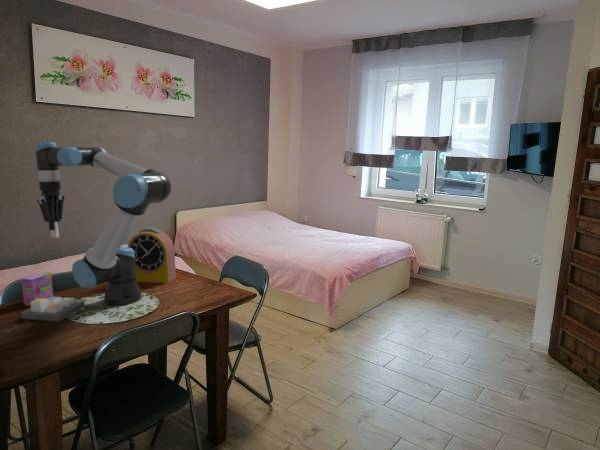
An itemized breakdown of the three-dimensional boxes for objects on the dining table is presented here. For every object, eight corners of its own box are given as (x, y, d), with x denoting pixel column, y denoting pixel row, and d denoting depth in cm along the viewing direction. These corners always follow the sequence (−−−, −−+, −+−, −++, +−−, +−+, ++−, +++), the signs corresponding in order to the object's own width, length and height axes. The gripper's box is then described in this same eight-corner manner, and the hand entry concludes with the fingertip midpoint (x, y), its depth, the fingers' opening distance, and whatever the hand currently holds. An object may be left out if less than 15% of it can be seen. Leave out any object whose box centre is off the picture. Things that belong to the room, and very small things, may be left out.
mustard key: (49, 308, 171) (48, 298, 170) (41, 312, 166) (40, 302, 166) (40, 307, 171) (38, 297, 171) (31, 311, 167) (30, 301, 166)
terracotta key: (63, 313, 170) (62, 303, 169) (55, 318, 166) (54, 307, 165) (53, 313, 171) (52, 302, 170) (45, 317, 166) (44, 306, 166)
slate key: (62, 306, 178) (61, 296, 177) (55, 310, 173) (53, 300, 173) (53, 305, 178) (52, 296, 178) (45, 309, 174) (44, 299, 173)
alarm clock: (128, 281, 214) (124, 229, 209) (138, 275, 222) (134, 225, 218) (168, 283, 210) (165, 230, 206) (176, 277, 219) (173, 227, 214)
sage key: (75, 307, 177) (74, 297, 176) (68, 311, 172) (67, 301, 172) (66, 306, 177) (65, 296, 177) (58, 310, 173) (57, 300, 172)
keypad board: (84, 307, 178) (84, 301, 178) (58, 321, 163) (58, 315, 163) (50, 305, 181) (50, 299, 180) (22, 318, 166) (21, 312, 166)
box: (35, 306, 179) (32, 279, 177) (23, 305, 181) (20, 278, 178) (54, 298, 189) (51, 272, 187) (43, 297, 191) (40, 271, 189)
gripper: (52, 179, 182) (58, 234, 186) (28, 181, 170) (35, 240, 174) (68, 179, 181) (73, 234, 185) (45, 181, 168) (51, 240, 172)
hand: (55, 237), depth 179 cm, fingers closed
